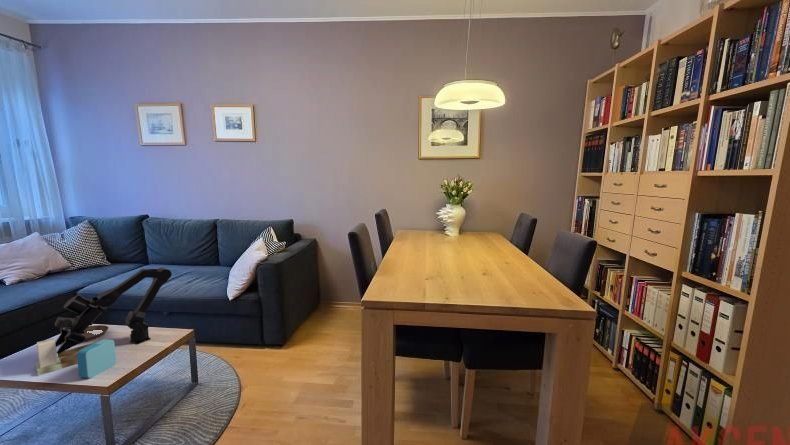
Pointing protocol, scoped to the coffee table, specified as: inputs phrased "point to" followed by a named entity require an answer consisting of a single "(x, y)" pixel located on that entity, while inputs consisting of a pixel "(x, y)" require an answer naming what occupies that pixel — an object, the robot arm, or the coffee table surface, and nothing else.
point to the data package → (96, 358)
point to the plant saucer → (91, 336)
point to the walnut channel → (62, 360)
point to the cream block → (47, 352)
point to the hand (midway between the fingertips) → (56, 349)
